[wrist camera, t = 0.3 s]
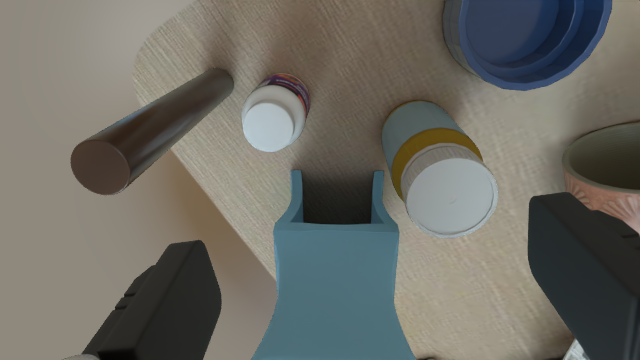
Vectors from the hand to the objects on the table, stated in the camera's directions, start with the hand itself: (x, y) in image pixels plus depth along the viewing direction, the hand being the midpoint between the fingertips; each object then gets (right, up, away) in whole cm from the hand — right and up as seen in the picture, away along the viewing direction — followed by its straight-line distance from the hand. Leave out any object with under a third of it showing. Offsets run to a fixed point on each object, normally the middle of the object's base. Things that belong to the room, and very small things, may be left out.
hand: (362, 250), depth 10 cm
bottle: (+9, +7, +32) cm, 34 cm away
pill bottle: (-5, +10, +31) cm, 33 cm away
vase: (+1, -2, +36) cm, 36 cm away
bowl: (+15, +17, +27) cm, 35 cm away
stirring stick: (-11, +11, +30) cm, 34 cm away
